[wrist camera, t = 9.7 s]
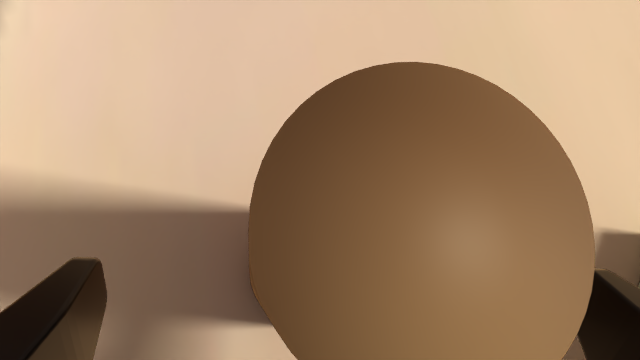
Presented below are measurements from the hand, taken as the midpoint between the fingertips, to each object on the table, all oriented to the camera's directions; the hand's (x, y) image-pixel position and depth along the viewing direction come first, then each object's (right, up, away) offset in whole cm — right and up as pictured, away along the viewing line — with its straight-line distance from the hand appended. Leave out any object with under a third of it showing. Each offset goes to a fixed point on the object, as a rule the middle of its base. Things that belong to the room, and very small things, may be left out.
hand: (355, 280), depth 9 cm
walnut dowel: (-1, -1, +8) cm, 8 cm away
